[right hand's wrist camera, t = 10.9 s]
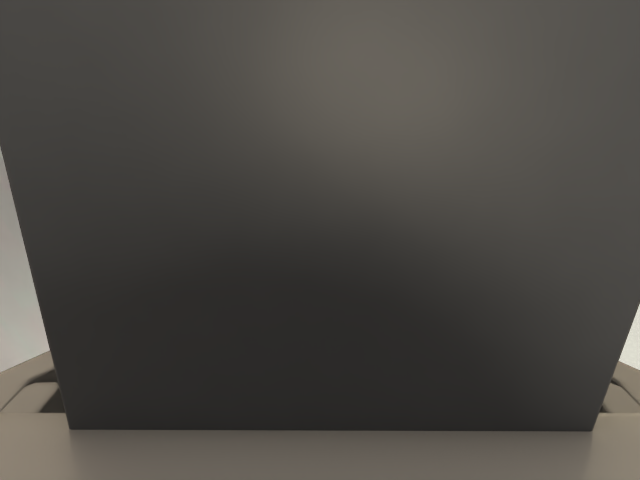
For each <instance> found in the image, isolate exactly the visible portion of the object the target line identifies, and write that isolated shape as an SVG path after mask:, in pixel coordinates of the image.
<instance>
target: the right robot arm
mask: <svg viewBox="0 0 640 480" xmlns="http://www.w3.org/2000/svg"><path fill="white" fill-rule="evenodd" d="M0 480H640V370H638V369H635V368H633V367H631V366H629V365H626V364H624V363H622V362H620V361H618V363H617V366H616V369H615V371H614V374H613V377H612V380H611V382H610V385H609V388H608V390H607V393H606V396H605V398H604V401H603V404H602V407H601V409H600V412H599V415H598V417H597V420H596V423H595V426H594V428H593V431H302V430H71V429H69V426H68V422H67V417H66V413H65V409H64V405H63V401H62V397H61V393H60V389H59V385H58V380H57V376H56V372H55V368H54V364H53V360H52V356H51V352H50V351H48V352H46V353H43V354H41V355H39V356H37V357H34V358H32V359H30V360H28V361H25V362H23V363H21V364H19V365H16V366H14V367H12V368H10V369H7V370H5V371H3V372H1V373H0Z"/></svg>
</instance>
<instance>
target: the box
mask: <svg viewBox="0 0 640 480" xmlns="http://www.w3.org/2000/svg"><path fill="white" fill-rule="evenodd" d="M0 146H1V150H2V154H3V158H4V162H5V167H6V171H7V175H8V179H9V183H10V187H11V191H12V195H13V200H14V204H15V208H16V212H17V216H18V220H19V224H20V228H21V232H22V237H23V241H24V245H25V249H26V253H27V257H28V261H29V265H30V269H31V274H32V278H33V282H34V286H35V290H36V294H37V298H38V302H39V306H40V311H41V315H42V319H43V323H44V327H45V331H46V335H47V339H48V343H49V348H50V352H51V356H52V360H53V364H54V368H55V372H56V376H57V380H58V385H59V389H60V393H61V397H62V401H63V405H64V409H65V413H66V417H67V422H68V426H69V429H71V430H302V431H593V428H594V426H595V423H596V420H597V417H598V415H599V412H600V409H601V407H602V404H603V401H604V398H605V396H606V393H607V390H608V388H609V385H610V382H611V380H612V377H613V374H614V371H615V369H616V366H617V363H618V361H619V358H620V355H621V352H622V350H623V347H624V344H625V342H626V339H627V336H628V334H629V331H630V328H631V325H632V323H633V320H634V317H635V315H636V312H637V309H638V306H639V304H640V0H0Z"/></svg>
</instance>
